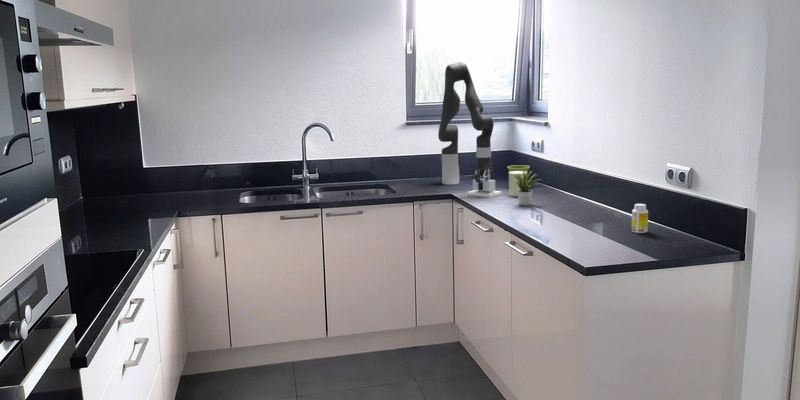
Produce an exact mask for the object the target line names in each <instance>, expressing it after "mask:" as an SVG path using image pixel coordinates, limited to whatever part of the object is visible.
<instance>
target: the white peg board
mask: <svg viewBox="0 0 800 400" xmlns="http://www.w3.org/2000/svg"><path fill="white" fill-rule="evenodd" d="M466 195H467V196H473V197H483V198H484V197H485V198H492V197H496V196H500V195H502V191H501V190H500V191H499V190H494V191H490V192H488V191H479V190H473V189H472V190H471V191H467V193H466Z"/></svg>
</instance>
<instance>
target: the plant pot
mask: <svg viewBox="0 0 800 400" xmlns="http://www.w3.org/2000/svg"><path fill="white" fill-rule="evenodd" d="M506 168H507V169H508V173H509V172H512V171H525V172H527V174H529V173H528V172H529V169H530V165H524V164H523V165H522V164H521V165H520V164H519V165H516V164H515V165H508V166H507V167H506Z"/></svg>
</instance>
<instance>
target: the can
mask: <svg viewBox="0 0 800 400" xmlns="http://www.w3.org/2000/svg"><path fill="white" fill-rule="evenodd" d="M518 173H519V174H520V175H521V176H520V175H519V174H518ZM525 173H526V172H525ZM517 174H518V175H519V176H520V177H522V178H523V171H512V172H509V171H508V196H509V197H517V198H518V194H517V191H518V190H521V189H520V188H519V186H518V184H516V183H513V182H518V181H519V180H517V179H516V178H517V177H518V175H517ZM514 175H516V176H517V177H516V176H515V177H516V178H515V177H514ZM518 178H519V177H518ZM522 178H521V179H522ZM527 181H528V180H527ZM527 181H526V183H527ZM522 182H523V181H522ZM518 183H519V182H518ZM515 184H516V186H517V187H515V186H514V185H515ZM519 184H520V183H519Z"/></svg>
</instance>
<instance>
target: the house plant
mask: <svg viewBox="0 0 800 400" xmlns="http://www.w3.org/2000/svg"><path fill="white" fill-rule="evenodd" d="M532 171H533V170H531V171H530V172H529V173H527V172H526V173H525V171H523V178H522V177H520V176H521V175H520V174H519V173H518V174H519V175H520V176H519V175H518V174H517V175H518V177H519V178H518V177H517V176H516V175H514V177H515V176H516V177H517V178H516V177H515V178H516V179H517V180H519V181H518V182H519V183H520V184H519V183H518V182H513V183H516V184H518V186H519V188H520V189H521V190H518V191H517V194H518V197H517V199H518V205H520V206H530V205H531V204H532V197H533V190H530V189H531V188H532V187H533V186H534V185H536V186H539V184H537V181H542V180H543V178H542V179H541V178H538V179H534V178H535V177H537V176H538V173H537V172H536V173H534V174H533V175H532V176H531V177H530V178H529V176H530V174H531V173H532ZM521 178H522V179H521ZM522 181H523V182H522ZM526 181H527V183H526ZM516 184H515V185H514V186H515V187H517V186H516Z"/></svg>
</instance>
